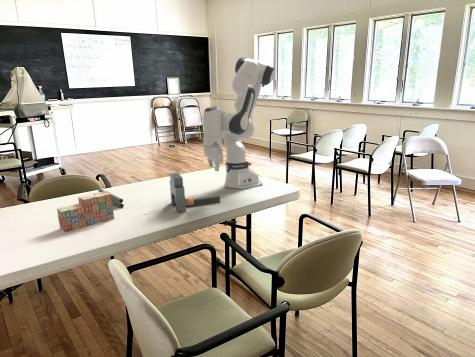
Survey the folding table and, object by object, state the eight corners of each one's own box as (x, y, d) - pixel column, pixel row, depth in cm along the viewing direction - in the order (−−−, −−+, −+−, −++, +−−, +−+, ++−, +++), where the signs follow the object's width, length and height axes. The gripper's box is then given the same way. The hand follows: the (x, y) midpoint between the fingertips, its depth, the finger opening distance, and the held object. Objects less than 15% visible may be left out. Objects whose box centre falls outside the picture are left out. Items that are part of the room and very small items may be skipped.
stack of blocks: (64, 233, 146) (60, 205, 143) (59, 228, 150) (55, 201, 147) (114, 219, 160) (111, 193, 156) (108, 215, 164) (105, 190, 161)
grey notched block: (179, 202, 180) (177, 171, 176) (185, 211, 167) (183, 179, 162) (171, 203, 179) (169, 172, 175) (177, 213, 165) (175, 180, 161)
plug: (218, 200, 182) (217, 192, 181) (220, 202, 178) (220, 195, 177) (184, 205, 176) (183, 197, 175) (186, 207, 172) (185, 199, 171)
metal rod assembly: (124, 207, 175) (123, 197, 174) (119, 208, 173) (118, 199, 172) (103, 196, 193) (101, 187, 192) (98, 197, 191) (96, 188, 190)
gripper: (226, 143, 163) (226, 173, 166) (213, 137, 181) (213, 164, 185) (213, 144, 161) (214, 174, 164) (201, 138, 179) (202, 165, 183)
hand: (213, 168), depth 175 cm, fingers open, 8 cm apart
